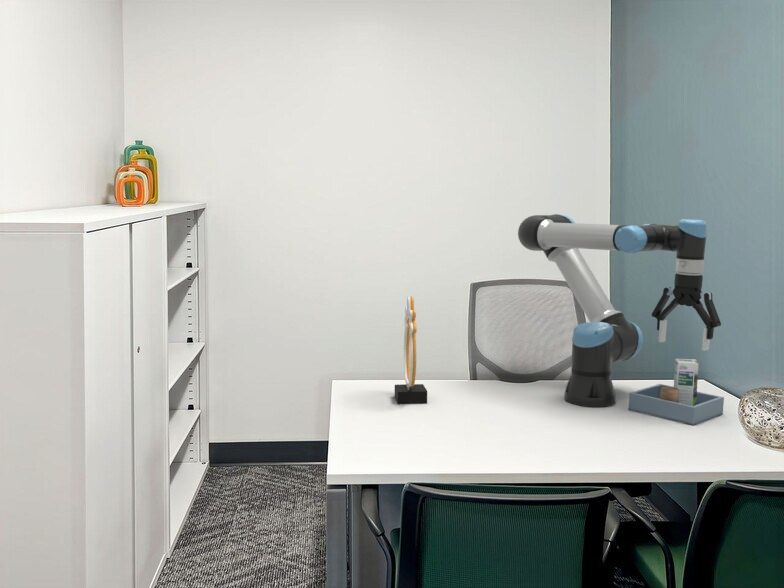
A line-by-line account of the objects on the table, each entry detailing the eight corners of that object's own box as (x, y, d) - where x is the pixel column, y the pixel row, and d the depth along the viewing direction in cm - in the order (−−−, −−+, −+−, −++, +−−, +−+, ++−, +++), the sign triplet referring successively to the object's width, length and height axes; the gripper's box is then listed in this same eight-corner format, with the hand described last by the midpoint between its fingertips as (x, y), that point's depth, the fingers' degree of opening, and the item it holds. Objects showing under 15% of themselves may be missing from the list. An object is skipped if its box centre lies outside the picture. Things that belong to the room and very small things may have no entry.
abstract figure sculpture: (429, 407, 226) (430, 300, 222) (399, 407, 225) (400, 300, 221) (421, 392, 243) (422, 292, 238) (393, 393, 242) (394, 292, 238)
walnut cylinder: (655, 412, 221) (657, 388, 220) (665, 409, 224) (666, 385, 223) (671, 416, 217) (673, 392, 216) (681, 413, 221) (682, 389, 220)
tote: (628, 409, 226) (629, 392, 225) (659, 399, 237) (660, 383, 236) (693, 425, 211) (694, 407, 210) (722, 414, 222) (723, 397, 221)
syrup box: (674, 410, 223) (677, 361, 221) (672, 405, 229) (675, 357, 227) (695, 412, 222) (699, 362, 220) (692, 406, 228) (695, 358, 226)
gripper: (643, 269, 229) (638, 339, 232) (724, 279, 210) (718, 355, 213) (656, 268, 234) (651, 337, 237) (737, 277, 215) (731, 351, 218)
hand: (683, 345), depth 225 cm, fingers open, 13 cm apart
